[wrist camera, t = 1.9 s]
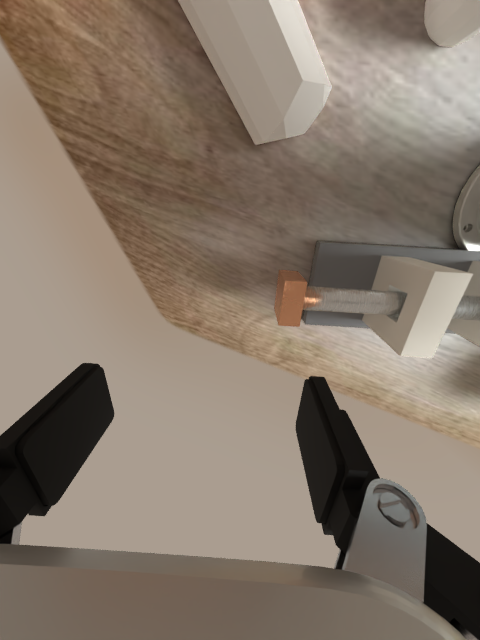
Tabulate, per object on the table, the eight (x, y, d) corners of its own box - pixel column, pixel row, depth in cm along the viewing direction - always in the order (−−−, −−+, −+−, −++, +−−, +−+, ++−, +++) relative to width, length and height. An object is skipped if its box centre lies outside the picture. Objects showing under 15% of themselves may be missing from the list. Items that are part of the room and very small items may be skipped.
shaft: (274, 308, 26) (278, 325, 22) (278, 270, 24) (284, 280, 20) (451, 319, 26) (488, 338, 22) (469, 281, 24) (513, 294, 20)
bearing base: (302, 319, 30) (323, 360, 22) (316, 241, 26) (349, 253, 18) (487, 330, 30) (582, 376, 22) (531, 253, 26) (672, 271, 17)
